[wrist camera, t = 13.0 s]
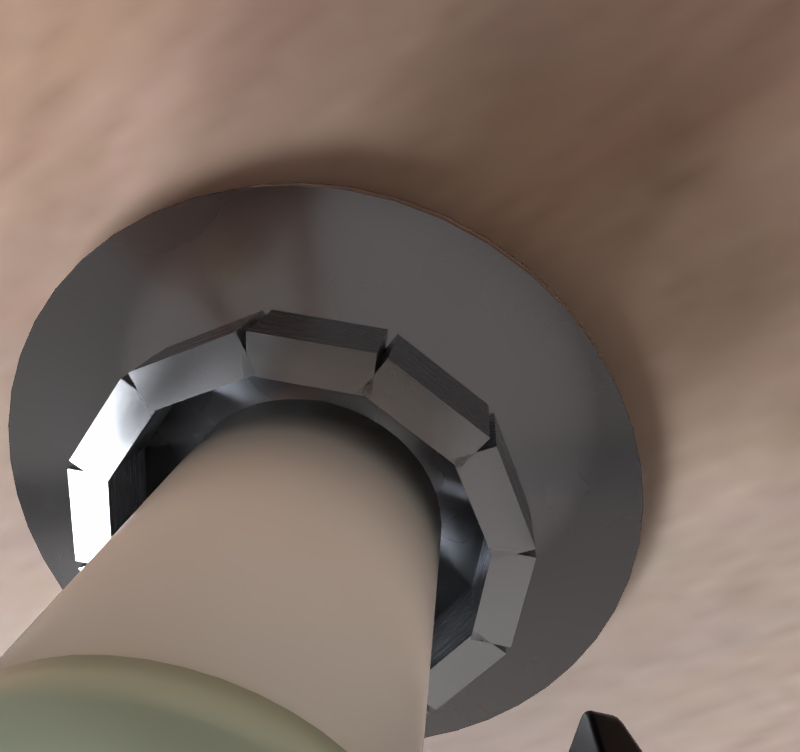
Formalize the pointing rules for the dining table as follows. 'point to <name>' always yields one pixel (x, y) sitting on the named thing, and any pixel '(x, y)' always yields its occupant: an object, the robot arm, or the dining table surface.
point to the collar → (348, 405)
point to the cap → (247, 603)
